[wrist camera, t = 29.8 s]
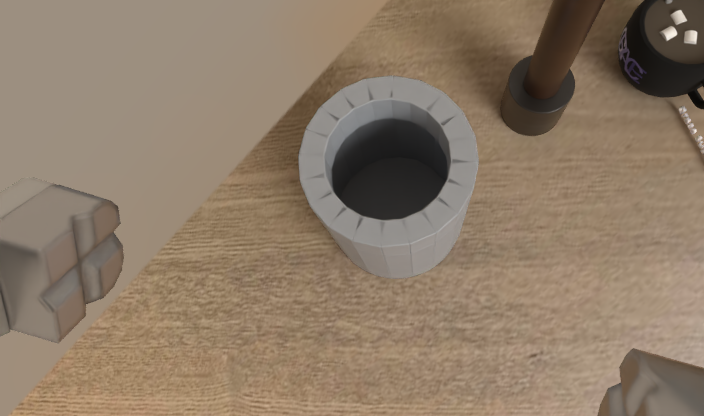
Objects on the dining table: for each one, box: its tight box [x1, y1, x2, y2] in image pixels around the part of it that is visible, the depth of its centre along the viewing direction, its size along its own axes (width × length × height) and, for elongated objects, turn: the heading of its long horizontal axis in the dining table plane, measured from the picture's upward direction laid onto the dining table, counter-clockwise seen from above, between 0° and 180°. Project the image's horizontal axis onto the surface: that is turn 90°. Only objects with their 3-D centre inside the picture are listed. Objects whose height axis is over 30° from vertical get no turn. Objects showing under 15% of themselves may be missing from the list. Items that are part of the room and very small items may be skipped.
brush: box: [501, 0, 605, 136], centre depth 34 cm, size 4×4×16 cm
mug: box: [618, 0, 704, 154], centre depth 37 cm, size 12×6×8 cm, turn 20°
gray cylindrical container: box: [298, 75, 479, 279], centre depth 35 cm, size 9×9×12 cm
